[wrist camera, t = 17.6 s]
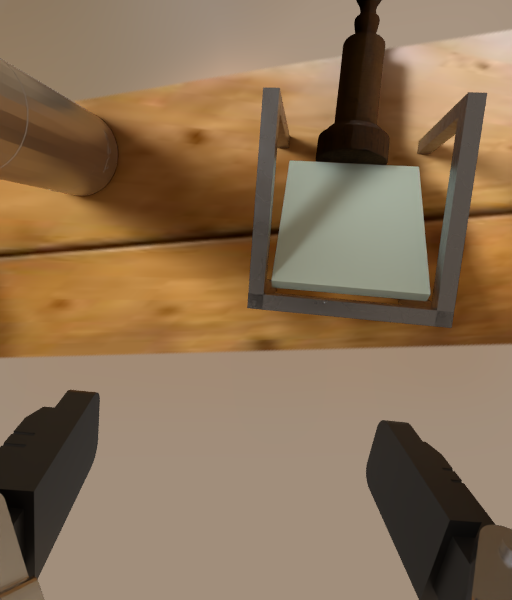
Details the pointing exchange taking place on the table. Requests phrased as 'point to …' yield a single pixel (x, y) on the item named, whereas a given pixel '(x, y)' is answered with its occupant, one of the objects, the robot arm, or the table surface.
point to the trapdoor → (353, 231)
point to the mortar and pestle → (358, 97)
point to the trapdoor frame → (440, 311)
